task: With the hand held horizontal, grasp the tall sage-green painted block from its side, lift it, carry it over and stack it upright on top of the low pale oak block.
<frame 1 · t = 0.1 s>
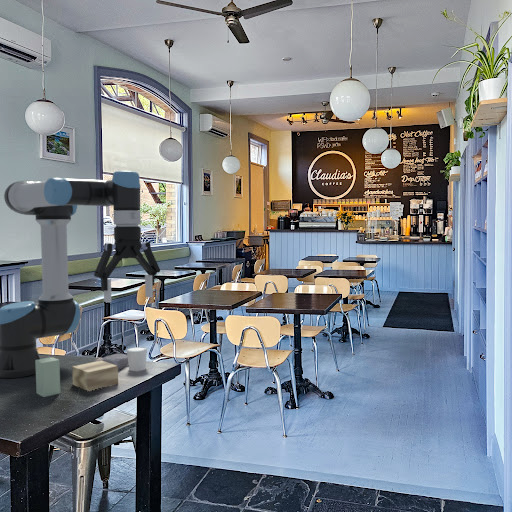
hand: (129, 299, 157), 28 cm above the table, tool pointing down, fingers open, 13 cm apart
stone block: (112, 367, 191), on the table
oak block: (95, 385, 169), on the table
white cup: (137, 369, 186), on the table
sage block: (48, 393, 160), on the table
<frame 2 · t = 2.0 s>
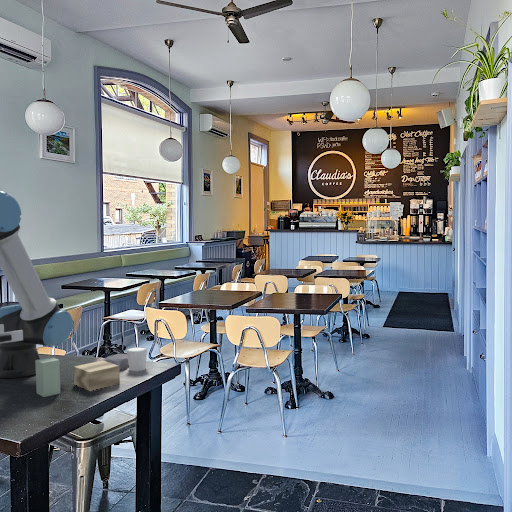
hand: (12, 331, 152), 20 cm above the table, tool horizontal, fingers open, 13 cm apart
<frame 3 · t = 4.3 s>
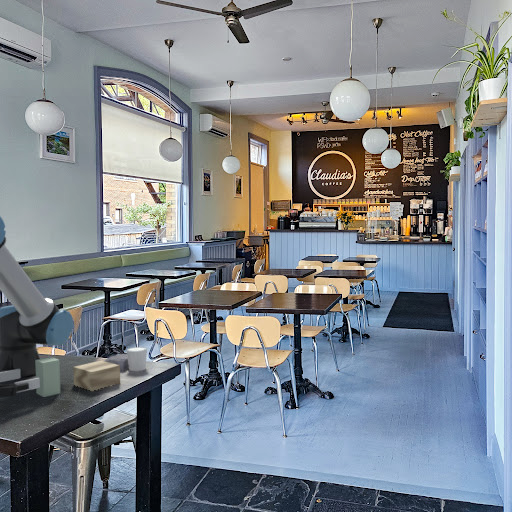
hand: (29, 377, 156), 6 cm above the table, tool horizontal, fingers open, 13 cm apart
stone block: (117, 367, 190), on the table
everything else where it was.
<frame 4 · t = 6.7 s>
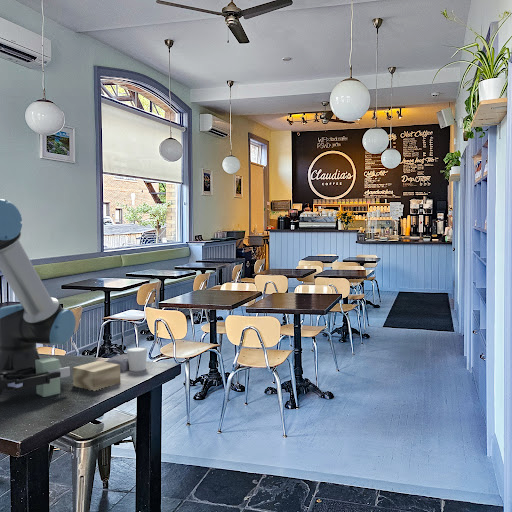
hand: (64, 369, 164), 6 cm above the table, tool horizontal, fingers closed on sage block, 5 cm apart
sage block: (48, 393, 160), on the table, touching gripper
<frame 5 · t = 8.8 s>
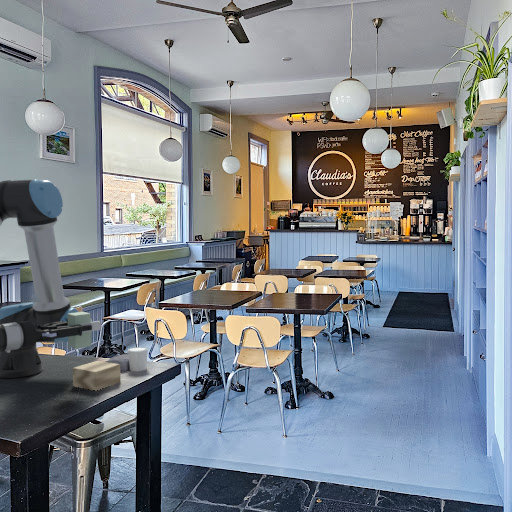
hand: (95, 324, 168), 19 cm above the table, tool horizontal, fingers closed on sage block, 5 cm apart
sage block: (80, 346, 164), point 13 cm above the table, touching gripper
when the fingers open (13 cm above the table, at t = 10.8 s): sage block drops 1 cm, resting on oak block.
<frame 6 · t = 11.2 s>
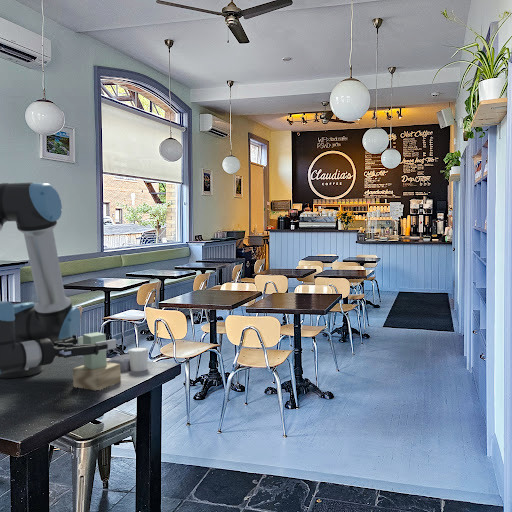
hand: (105, 340, 171), 13 cm above the table, tool horizontal, fingers open, 11 cm apart
oak block: (97, 385, 169), on the table, touching sage block
sage block: (95, 366, 168), point 6 cm above the table, touching oak block
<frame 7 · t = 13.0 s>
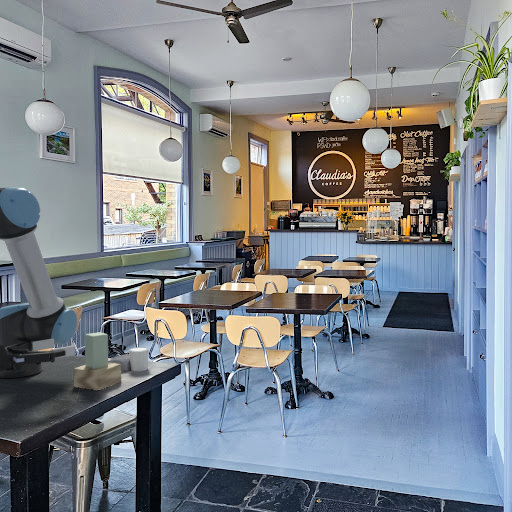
hand: (63, 346, 161), 14 cm above the table, tool horizontal, fingers open, 13 cm apart
oak block: (98, 385, 169), on the table
sage block: (96, 366, 169), point 6 cm above the table
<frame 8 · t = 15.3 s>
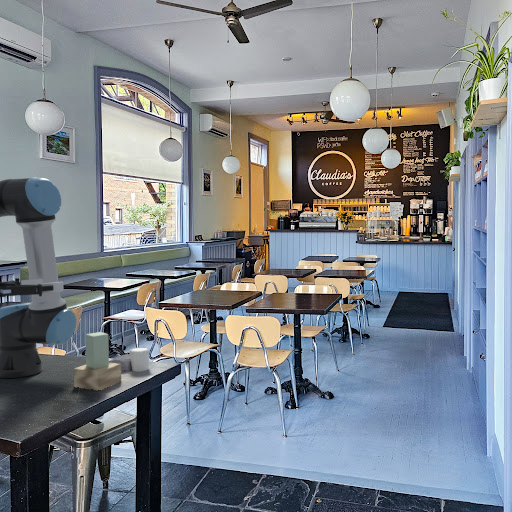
hand: (52, 284, 160), 32 cm above the table, tool horizontal, fingers open, 13 cm apart
oak block: (98, 385, 169), on the table, touching sage block
sage block: (97, 365, 169), point 6 cm above the table, touching oak block
at the end: sage block inside the target area on the oak block (0.2 cm from its centre), point 6.0 cm above the oak block's base; sage block tilted 1°; the gripper is holding nothing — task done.
